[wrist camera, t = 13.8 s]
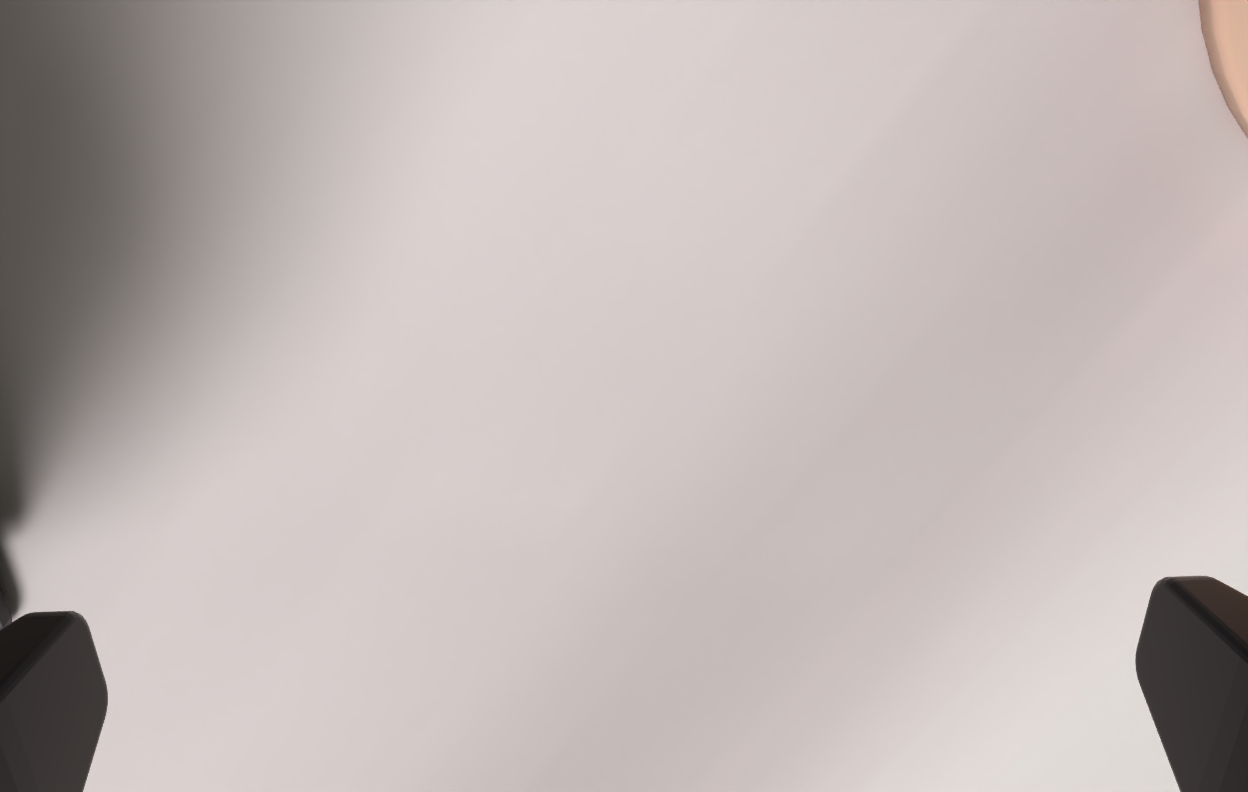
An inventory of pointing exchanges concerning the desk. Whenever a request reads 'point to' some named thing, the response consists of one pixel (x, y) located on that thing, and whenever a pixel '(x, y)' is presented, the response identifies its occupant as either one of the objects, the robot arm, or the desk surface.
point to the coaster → (1228, 51)
